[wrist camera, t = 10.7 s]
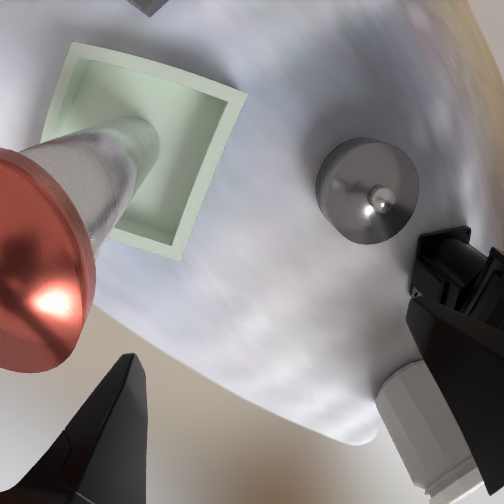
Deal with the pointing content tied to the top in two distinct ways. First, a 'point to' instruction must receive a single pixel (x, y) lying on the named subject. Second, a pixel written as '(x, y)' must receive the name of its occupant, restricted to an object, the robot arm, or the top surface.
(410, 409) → the jar
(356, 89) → the top surface
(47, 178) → the pin
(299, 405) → the top surface
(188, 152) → the tray
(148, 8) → the tensioner block
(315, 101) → the top surface
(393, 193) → the disc
